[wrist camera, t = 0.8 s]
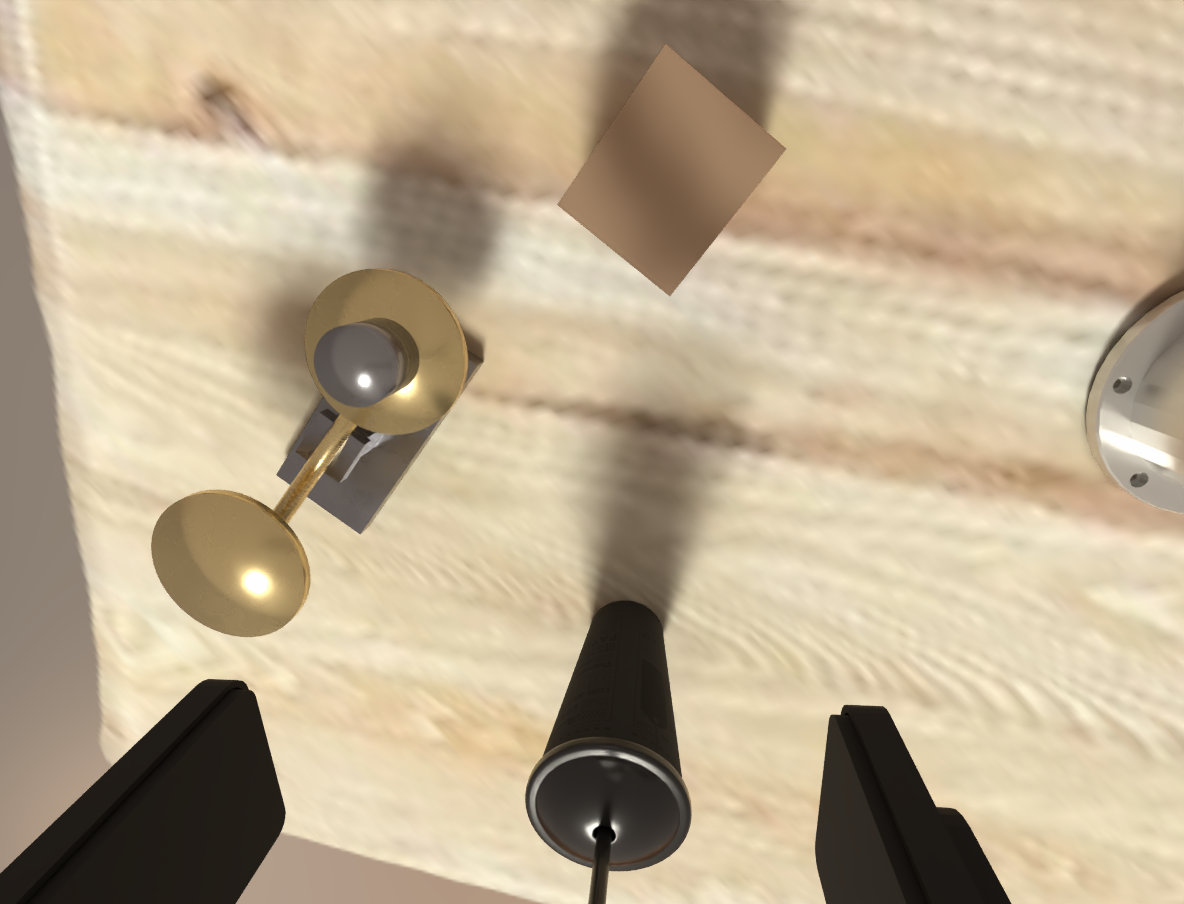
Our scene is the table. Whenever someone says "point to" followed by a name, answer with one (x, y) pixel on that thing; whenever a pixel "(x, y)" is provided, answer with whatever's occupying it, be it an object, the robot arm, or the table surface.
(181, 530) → the balance
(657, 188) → the arch
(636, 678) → the drinking cup
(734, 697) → the table surface
